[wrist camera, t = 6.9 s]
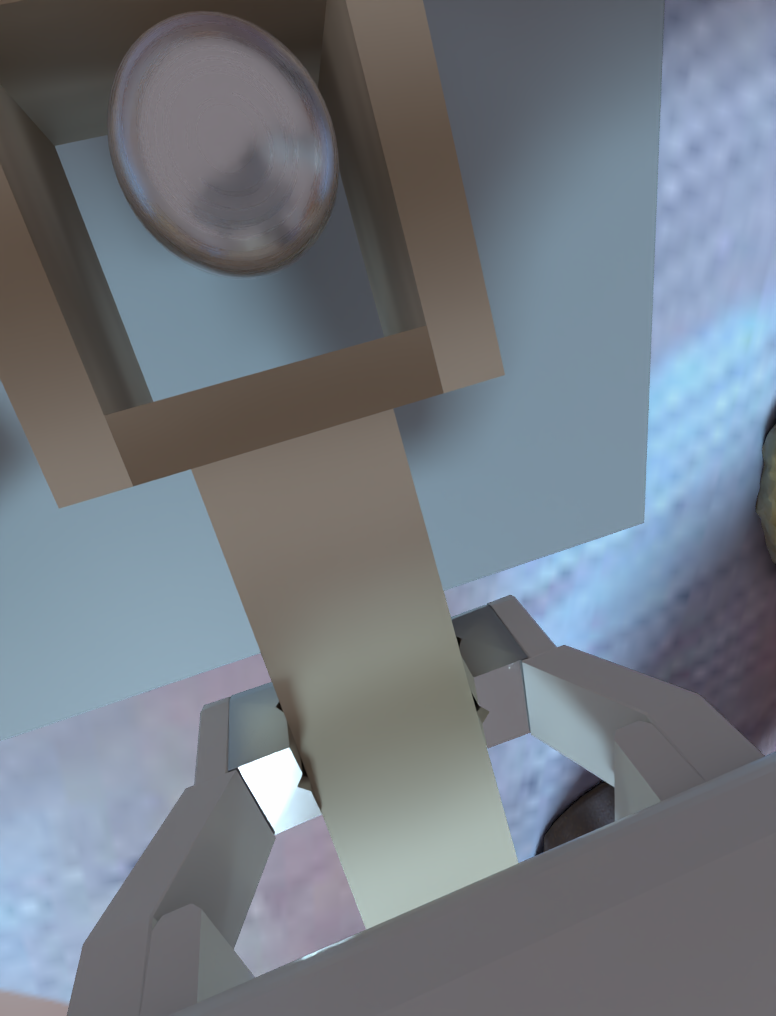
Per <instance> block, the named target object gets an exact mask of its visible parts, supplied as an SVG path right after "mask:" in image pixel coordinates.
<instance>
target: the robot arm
mask: <svg viewBox="0 0 776 1016" xmlns="http://www.w3.org/2000/svg"><path fill="white" fill-rule="evenodd" d="M451 620H452V624H453V627H454V631H455V635H456V638H457V642H458V646H459V649H460V653H461V658H462V662H463V666H464V669H465V673H466V677H467V680H468V684H469V688H470V690H471V693H472V697H473V700H474V704H475V707H476V711H477V712H476V713H477V716H478V720H479V723H480V727H481V730H482V734H483V737H484V740H485V744H486V746H487V748H490V747H492V746H495V745H498V744H501V743H503V742H506V741H509V740H512V739H514V738H517V737H520V736H522V735H525V734H528V733H531V735H532V736H534V737H536V738H537V739H539V740H540V741H542V742H543V743H545V744H547V745H548V746H550V747H551V748H553V749H555V750H556V751H558V752H559V753H561V754H562V755H564V756H566V757H567V758H569V759H570V760H572V761H574V762H575V763H577V764H578V765H580V766H581V767H583V768H585V769H586V770H588V771H589V772H591V773H593V774H594V775H596V776H597V777H599V778H601V779H602V780H604V781H605V782H607V783H608V784H610V785H612V786H613V787H615V822H612V823H610V824H608V825H605V826H603V827H601V828H598V829H596V830H594V831H592V832H589V833H587V834H585V835H582V836H580V837H578V838H575V839H573V840H571V841H569V842H566V843H564V844H562V845H559V846H557V847H555V848H552V849H550V850H548V851H546V852H543V853H541V854H539V855H536V856H534V857H532V858H529V859H527V860H525V861H522V862H520V863H518V864H516V865H513V866H511V867H509V868H506V869H504V870H502V871H499V872H497V873H495V874H493V875H490V876H488V877H486V878H483V879H481V880H479V881H476V882H474V883H472V884H470V885H467V886H465V887H463V888H460V889H458V890H456V891H454V892H451V893H449V894H447V895H444V896H442V897H440V898H437V899H435V900H433V901H431V902H428V903H426V904H424V905H421V906H419V907H417V908H414V909H412V910H410V911H408V912H405V913H403V914H401V915H398V916H396V917H394V918H392V919H389V920H387V921H385V922H382V923H380V924H378V925H375V926H373V927H371V928H369V929H366V930H364V931H362V932H359V933H357V934H355V935H353V936H350V937H348V938H346V939H343V940H341V941H339V942H336V943H334V944H332V945H330V946H327V947H325V948H323V949H320V950H318V951H316V952H313V953H311V954H309V955H307V956H304V957H302V958H300V959H297V960H295V961H293V962H290V963H288V964H286V965H284V966H281V967H279V968H277V969H274V970H272V971H270V972H267V973H265V974H263V975H260V976H258V977H256V978H255V977H254V975H253V974H252V973H251V971H250V970H249V969H248V968H247V966H246V965H245V964H244V963H243V961H242V960H241V959H240V957H239V956H238V955H237V954H236V952H235V951H234V947H235V944H236V942H237V939H238V936H239V934H240V931H241V928H242V926H243V923H244V920H245V918H246V915H247V912H248V910H249V907H250V905H251V902H252V899H253V897H254V894H255V891H256V889H257V886H258V883H259V881H260V878H261V875H262V873H263V870H264V867H265V865H266V862H267V860H268V857H269V854H270V852H271V849H272V846H273V844H274V841H275V836H274V835H276V834H278V833H280V832H283V831H285V830H287V829H290V828H292V827H294V826H296V825H299V824H301V823H303V822H306V821H308V820H310V819H313V818H315V817H317V816H320V815H322V812H321V808H320V806H319V803H318V800H317V798H316V795H315V792H314V789H313V787H312V784H311V781H310V779H309V777H308V775H307V773H306V770H305V767H304V765H303V762H302V760H301V756H300V752H299V750H298V747H297V745H296V742H295V740H294V737H293V734H292V732H291V729H290V727H289V724H288V722H287V720H286V718H285V715H284V712H283V710H282V707H281V704H280V702H279V699H278V697H277V694H276V691H275V689H274V686H273V683H272V682H270V683H267V684H264V685H261V686H258V687H255V688H252V689H249V690H246V691H244V692H241V693H238V694H235V695H232V696H231V697H228V698H225V699H222V700H219V701H216V702H212V703H209V704H206V705H204V707H203V709H202V711H201V713H200V724H199V736H198V747H197V759H196V771H195V782H194V786H191V787H189V788H186V789H185V790H184V792H183V793H182V795H181V797H180V798H179V800H178V801H177V803H176V804H175V806H174V807H173V809H172V810H171V812H170V813H169V815H168V816H167V818H166V819H165V821H164V822H163V824H162V825H161V827H160V828H159V830H158V831H157V833H156V834H155V836H154V837H153V839H152V841H151V842H150V844H149V845H148V847H147V848H146V850H145V851H144V853H143V854H142V856H141V857H140V859H139V860H138V862H137V863H136V865H135V866H134V868H133V869H132V871H131V872H130V874H129V875H128V877H127V878H126V880H125V881H124V883H123V885H122V886H121V888H120V889H119V891H118V892H117V894H116V895H115V897H114V898H113V900H112V901H111V903H110V904H109V906H108V907H107V909H106V910H105V912H104V913H103V915H102V916H101V918H100V919H99V921H98V922H97V924H96V926H95V927H94V929H93V930H92V932H91V933H90V935H89V936H88V938H87V939H86V941H85V942H84V944H83V947H82V951H81V956H80V960H79V964H78V969H77V973H76V977H75V982H74V986H73V990H72V995H71V999H70V1003H69V1008H68V1012H67V1016H776V752H773V753H771V754H769V755H767V756H764V755H763V754H762V753H761V752H760V751H759V750H758V749H757V748H756V747H755V746H754V745H753V744H752V743H750V742H749V741H748V740H747V739H746V738H745V737H744V736H743V735H742V734H741V733H740V732H739V731H738V730H737V729H736V728H735V727H733V726H732V725H731V724H730V723H729V722H728V721H727V720H726V719H725V718H724V717H723V716H722V715H721V714H720V713H719V712H718V711H716V710H715V709H714V708H713V707H712V706H711V705H710V704H709V703H708V702H707V701H706V700H705V699H704V698H703V697H702V696H701V695H699V694H697V693H695V692H692V691H689V690H686V689H684V688H681V687H678V686H676V685H673V684H670V683H667V682H665V681H662V680H659V679H656V678H654V677H651V676H648V675H645V674H643V673H640V672H637V671H635V670H632V669H629V668H626V667H624V666H621V665H618V664H615V663H613V662H610V661H607V660H604V659H602V658H599V657H596V656H594V655H591V654H588V653H585V652H583V651H580V650H577V649H574V648H572V647H569V646H566V645H563V646H560V647H556V645H555V644H554V643H553V642H552V641H551V639H550V638H549V637H548V636H547V635H546V633H545V632H544V631H543V630H542V629H541V628H540V626H539V625H538V624H537V623H536V622H535V620H534V619H533V618H532V617H531V616H530V614H529V613H528V612H527V611H526V610H525V608H524V607H523V606H522V605H521V604H520V602H519V601H518V600H517V599H516V598H515V597H514V596H512V595H508V596H506V597H503V598H500V599H498V600H495V601H493V602H490V603H487V605H483V606H480V607H478V608H475V609H472V610H469V611H467V612H464V613H461V614H459V615H456V616H453V617H451Z"/></svg>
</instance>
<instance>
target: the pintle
mask: <svg viewBox="0 0 776 1016" xmlns="http://www.w3.org/2000/svg"><path fill="white" fill-rule="evenodd" d="M107 134H108V144H109V151H110V156H111V160H112V165H113V168H114V171H115V174H116V177H117V180H118V183H119V185H120V188H121V190H122V192H123V194H124V196H125V199H126V201H127V202H128V204H129V206H130V207H131V209H132V211H133V212H134V214H135V216H136V217H137V218H138V220H139V221H140V222H141V224H142V225H143V226H144V228H145V229H146V230H147V231H148V232H149V233H150V235H151V236H152V237H153V238H154V239H155V240H156V241H157V242H158V243H159V244H160V245H161V246H163V247H164V248H165V249H166V250H167V251H168V252H170V253H171V254H172V255H174V256H175V257H177V258H178V259H180V260H181V261H182V262H184V263H186V264H188V265H190V266H191V267H193V268H195V269H197V270H200V271H202V272H205V273H207V274H210V275H213V276H218V277H222V278H227V279H236V280H249V279H257V278H263V277H267V276H270V275H273V274H276V273H279V272H281V271H283V270H285V269H287V268H289V267H290V266H291V265H293V264H294V263H296V262H297V261H299V260H300V259H301V258H302V257H303V256H304V255H305V254H306V253H307V252H308V251H310V249H311V248H312V247H313V246H314V244H315V243H316V242H317V241H318V239H319V238H320V236H321V234H322V233H323V231H324V229H325V228H326V225H327V223H328V221H329V219H330V216H331V214H332V210H333V207H334V204H335V200H336V194H337V189H338V179H339V158H338V148H337V142H336V136H335V132H334V128H333V124H332V120H331V117H330V114H329V112H328V109H327V106H326V104H325V101H324V99H323V97H322V95H321V93H320V91H319V89H318V87H317V85H316V84H315V82H314V80H313V79H312V77H311V76H310V74H309V73H308V71H307V70H306V68H305V67H304V66H303V65H302V63H301V62H300V61H299V60H298V59H297V57H296V56H295V55H294V54H293V53H292V52H291V51H290V50H289V49H288V48H287V47H286V46H285V45H284V44H283V43H282V42H280V41H279V40H278V39H276V38H275V37H274V36H272V35H271V34H270V33H269V32H267V31H265V30H264V29H262V28H260V27H259V26H257V25H255V24H253V23H251V22H249V21H247V20H244V19H242V18H239V17H237V16H233V15H229V14H225V13H221V12H211V11H196V12H186V13H182V14H179V15H175V16H171V17H169V18H167V19H165V20H163V21H161V22H159V23H157V24H155V25H154V26H152V27H151V28H150V29H148V30H147V31H146V32H144V33H143V34H142V35H141V36H140V37H139V38H138V39H137V40H136V41H135V42H134V43H133V44H132V46H131V47H130V49H129V50H128V51H127V53H126V54H125V56H124V57H123V59H122V61H121V63H120V65H119V67H118V70H117V72H116V74H115V77H114V80H113V83H112V87H111V90H110V96H109V102H108V109H107Z"/></svg>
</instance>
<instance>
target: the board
mask: <svg viewBox="0 0 776 1016" xmlns="http://www.w3.org/2000/svg"><path fill="white" fill-rule="evenodd" d="M423 3H424V8H425V12H426V17H427V21H428V26H429V30H430V35H431V40H432V44H433V49H434V53H435V58H436V62H437V67H438V71H439V76H440V81H441V85H442V90H443V94H444V99H445V103H446V108H447V112H448V117H449V122H450V126H451V131H452V135H453V140H454V144H455V149H456V153H457V158H458V163H459V167H460V172H461V176H462V181H463V185H464V190H465V195H466V199H467V204H468V208H469V213H470V217H471V222H472V226H473V231H474V236H475V240H476V245H477V249H478V254H479V258H480V263H481V267H482V272H483V277H484V281H485V286H486V290H487V295H488V299H489V304H490V308H491V313H492V318H493V322H494V327H495V331H496V336H497V340H498V345H499V349H500V354H501V359H502V363H503V368H504V372H505V375H504V376H500V377H497V378H494V379H490V380H487V381H484V382H480V383H477V384H474V385H470V386H467V387H464V388H460V389H457V390H454V391H450V392H447V393H444V394H440V395H437V396H434V397H430V398H427V399H424V400H420V401H417V402H414V403H410V404H407V405H404V406H400V407H397V408H393V410H394V413H395V417H396V420H397V424H398V428H399V431H400V435H401V439H402V442H403V446H404V449H405V453H406V457H407V460H408V464H409V468H410V471H411V475H412V479H413V482H414V486H415V489H416V493H417V497H418V500H419V504H420V508H421V511H422V515H423V519H424V522H425V526H426V529H427V533H428V537H429V540H430V544H431V548H432V551H433V555H434V558H435V562H436V566H437V569H438V573H439V577H440V580H441V584H442V588H443V591H445V590H448V589H451V588H453V587H456V586H459V585H462V584H465V583H468V582H471V581H474V580H477V579H480V578H483V577H486V576H489V575H492V574H495V573H498V572H501V571H504V570H506V569H509V568H512V567H515V566H518V565H521V564H524V563H527V562H530V561H533V560H536V559H539V558H542V557H545V556H548V555H551V554H554V553H557V552H560V551H562V550H565V549H568V548H571V547H574V546H577V545H580V544H583V543H586V542H589V541H592V540H595V539H598V538H601V537H604V536H607V535H610V534H613V533H616V532H618V531H621V530H624V529H627V528H630V527H633V526H636V525H639V524H642V523H644V511H645V486H646V460H647V435H648V410H649V384H650V359H651V334H652V308H653V283H654V258H655V232H656V207H657V182H658V156H659V131H660V106H661V80H662V55H663V30H664V5H665V0H423ZM55 148H56V151H57V153H58V156H59V158H60V161H61V164H62V166H63V169H64V171H65V174H66V177H67V179H68V182H69V184H70V187H71V189H72V192H73V195H74V197H75V200H76V202H77V205H78V208H79V210H80V213H81V215H82V218H83V221H84V223H85V226H86V228H87V231H88V234H89V236H90V239H91V241H92V244H93V246H94V249H95V252H96V254H97V257H98V259H99V262H100V265H101V267H102V270H103V272H104V275H105V278H106V280H107V283H108V285H109V288H110V290H111V293H112V296H113V298H114V301H115V303H116V306H117V309H118V311H119V314H120V316H121V319H122V322H123V324H124V327H125V329H126V332H127V334H128V337H129V340H130V342H131V345H132V347H133V350H134V353H135V355H136V358H137V360H138V363H139V366H140V368H141V371H142V373H143V376H144V379H145V381H146V384H147V386H148V389H149V391H150V394H151V397H152V399H153V402H155V401H158V400H162V399H165V398H169V397H173V396H176V395H180V394H183V393H187V392H190V391H194V390H198V389H201V388H205V387H208V386H212V385H215V384H219V383H222V382H226V381H230V380H233V379H237V378H240V377H244V376H247V375H251V374H255V373H258V372H262V371H265V370H269V369H272V368H276V367H280V366H283V365H287V364H290V363H294V362H297V361H301V360H305V359H308V358H312V357H315V356H319V355H322V354H326V353H329V352H333V351H337V350H340V349H344V348H347V347H351V346H354V345H358V344H362V343H365V342H369V341H372V340H376V339H379V338H383V337H384V334H383V330H382V327H381V323H380V319H379V316H378V312H377V308H376V305H375V301H374V297H373V293H372V290H371V286H370V282H369V279H368V275H367V271H366V268H365V264H364V260H363V256H362V253H361V249H360V245H359V242H358V238H357V234H356V231H355V227H354V223H353V219H352V216H351V212H350V208H349V205H348V201H347V197H346V194H345V190H344V186H343V183H342V179H341V175H340V171H339V179H338V189H337V194H336V200H335V204H334V207H333V210H332V214H331V216H330V219H329V221H328V223H327V225H326V228H325V229H324V231H323V233H322V234H321V236H320V238H319V239H318V241H317V242H316V243H315V244H314V246H313V247H312V248H311V249H310V251H308V252H307V253H306V254H305V255H304V256H303V257H302V258H301V259H300V260H299V261H297V262H296V263H294V264H293V265H291V266H290V267H289V268H287V269H285V270H283V271H281V272H279V273H276V274H273V275H270V276H267V277H263V278H257V279H249V280H236V279H227V278H222V277H218V276H213V275H210V274H207V273H205V272H202V271H200V270H197V269H195V268H193V267H191V266H190V265H188V264H186V263H184V262H182V261H181V260H180V259H178V258H177V257H175V256H174V255H172V254H171V253H170V252H168V251H167V250H166V249H165V248H164V247H163V246H161V245H160V244H159V243H158V242H157V241H156V240H155V239H154V238H153V237H152V236H151V235H150V233H149V232H148V231H147V230H146V229H145V228H144V226H143V225H142V224H141V222H140V221H139V220H138V218H137V217H136V216H135V214H134V212H133V211H132V209H131V207H130V206H129V204H128V202H127V201H126V199H125V196H124V194H123V192H122V190H121V188H120V185H119V183H118V180H117V177H116V174H115V171H114V168H113V165H112V160H111V156H110V151H109V144H108V135H104V136H100V137H95V138H90V139H85V140H81V141H76V142H71V143H67V144H62V145H57V146H55ZM259 653H261V652H260V649H259V647H258V644H257V641H256V639H255V636H254V633H253V631H252V628H251V626H250V623H249V620H248V618H247V615H246V612H245V610H244V607H243V605H242V602H241V599H240V597H239V594H238V591H237V589H236V586H235V584H234V581H233V578H232V576H231V573H230V570H229V568H228V565H227V563H226V560H225V557H224V555H223V552H222V549H221V547H220V544H219V542H218V539H217V536H216V534H215V531H214V528H213V526H212V523H211V521H210V518H209V515H208V513H207V510H206V507H205V505H204V502H203V500H202V497H201V494H200V492H199V489H198V486H197V484H196V481H195V479H194V476H193V473H192V471H191V469H190V470H187V471H183V472H180V473H177V474H173V475H170V476H167V477H163V478H160V479H157V480H153V481H150V482H147V483H143V484H140V485H137V486H133V487H130V488H127V489H123V490H120V491H117V492H113V493H110V494H107V495H103V496H100V497H97V498H93V499H90V500H87V501H83V502H80V503H77V504H73V505H70V506H67V507H63V508H60V509H59V508H58V506H57V503H56V501H55V499H54V497H53V495H52V492H51V490H50V488H49V486H48V484H47V481H46V479H45V477H44V475H43V473H42V470H41V468H40V466H39V464H38V461H37V459H36V457H35V455H34V453H33V450H32V448H31V446H30V444H29V442H28V439H27V437H26V435H25V433H24V431H23V428H22V426H21V424H20V422H19V420H18V417H17V415H16V413H15V411H14V409H13V406H12V404H11V402H10V400H9V397H8V395H7V393H6V391H5V389H4V386H3V384H2V382H1V380H0V741H3V740H6V739H9V738H11V737H14V736H17V735H20V734H23V733H26V732H29V731H32V730H35V729H38V728H41V727H44V726H47V725H50V724H53V723H56V722H59V721H62V720H65V719H67V718H70V717H73V716H76V715H79V714H82V713H85V712H88V711H91V710H94V709H97V708H100V707H103V706H106V705H109V704H112V703H115V702H118V701H120V700H123V699H126V698H129V697H132V696H135V695H138V694H141V693H144V692H147V691H150V690H153V689H156V688H159V687H162V686H165V685H168V684H171V683H174V682H176V681H179V680H182V679H185V678H188V677H191V676H194V675H197V674H200V673H203V672H206V671H209V670H212V669H215V668H218V667H221V666H224V665H227V664H230V663H232V662H235V661H238V660H241V659H244V658H247V657H250V656H253V655H256V654H259Z"/></svg>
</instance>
